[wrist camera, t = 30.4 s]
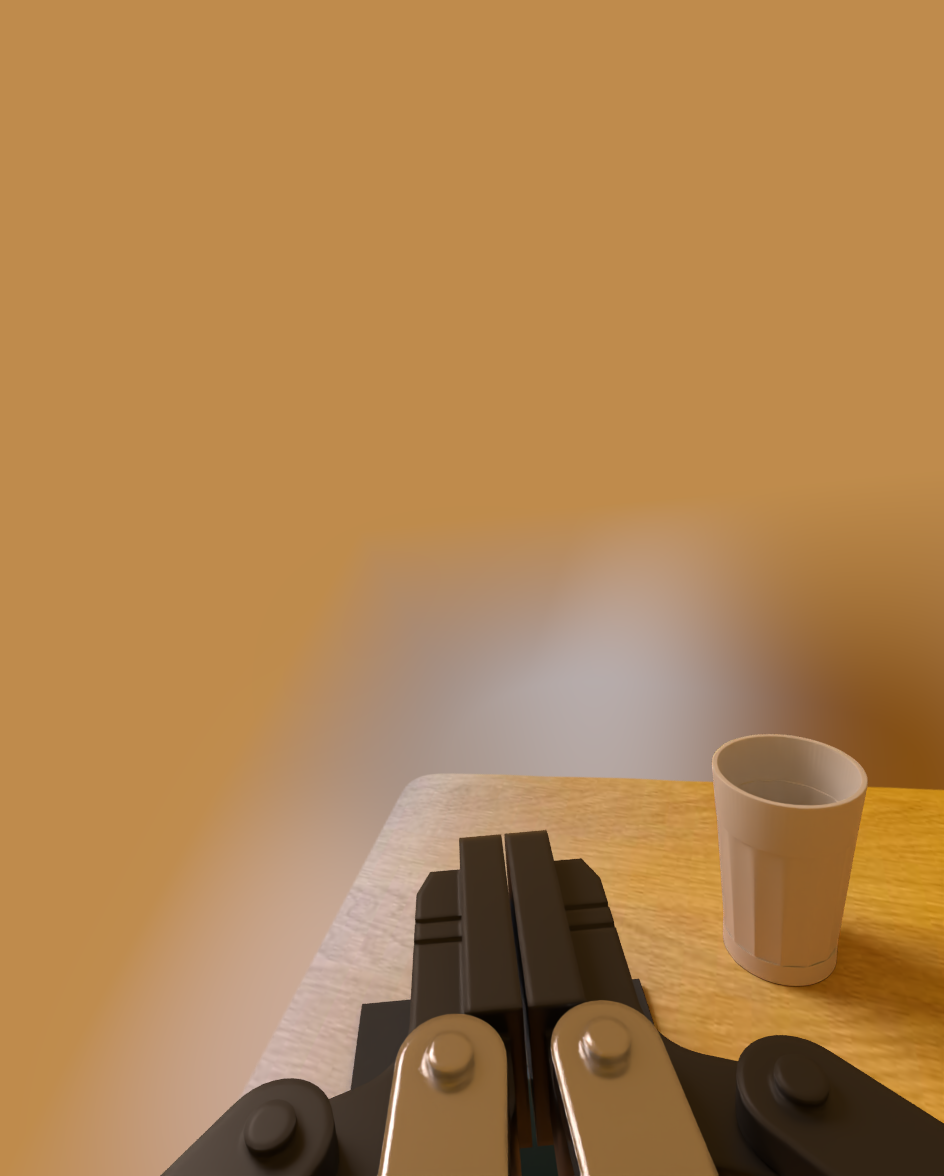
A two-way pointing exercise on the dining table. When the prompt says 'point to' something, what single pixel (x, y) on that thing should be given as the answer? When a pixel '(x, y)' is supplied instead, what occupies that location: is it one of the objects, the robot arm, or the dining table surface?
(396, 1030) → the mat
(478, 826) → the dining table surface
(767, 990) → the dining table surface
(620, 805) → the dining table surface
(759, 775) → the cup
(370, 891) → the dining table surface
